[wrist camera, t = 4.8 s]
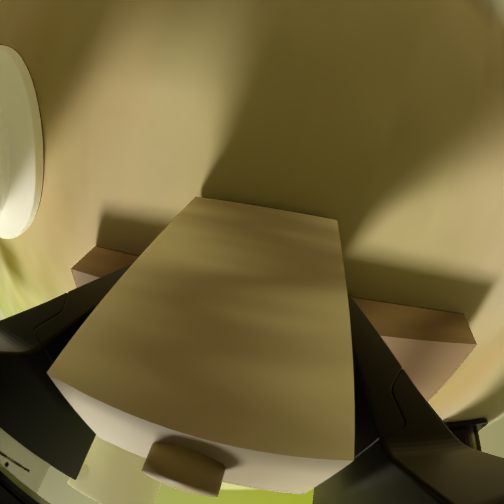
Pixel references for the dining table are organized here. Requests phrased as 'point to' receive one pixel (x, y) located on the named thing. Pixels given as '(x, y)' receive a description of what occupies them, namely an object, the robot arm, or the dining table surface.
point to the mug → (115, 476)
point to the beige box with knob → (223, 353)
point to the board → (379, 314)
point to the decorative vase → (18, 146)
